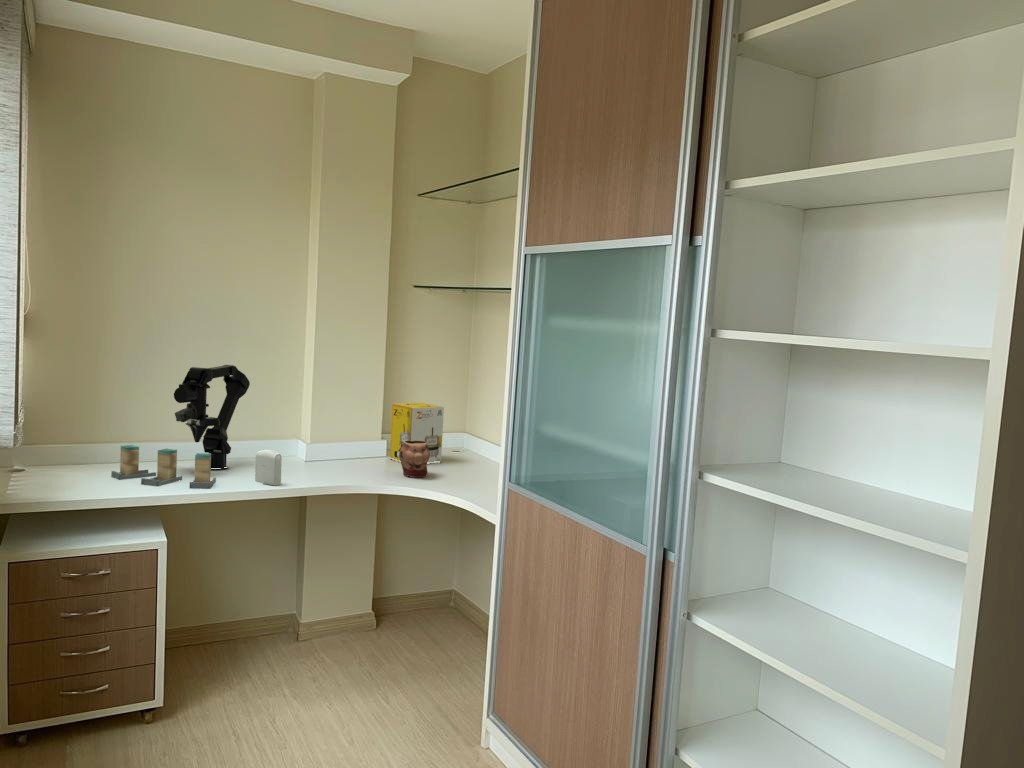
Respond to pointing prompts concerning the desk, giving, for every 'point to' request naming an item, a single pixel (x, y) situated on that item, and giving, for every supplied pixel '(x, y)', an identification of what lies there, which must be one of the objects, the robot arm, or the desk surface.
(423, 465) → the decorative planter
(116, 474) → the slate track
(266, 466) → the photo printer
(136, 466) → the oak key
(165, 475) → the oak key
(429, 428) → the packaging box
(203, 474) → the oak key
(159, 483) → the slate track
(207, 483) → the slate track
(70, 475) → the desk surface
